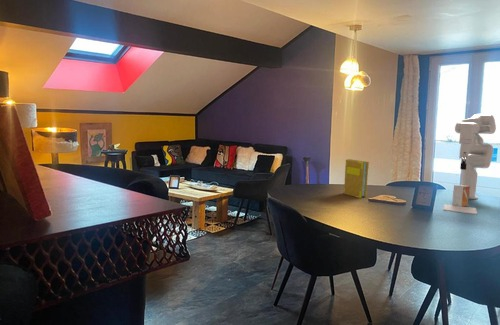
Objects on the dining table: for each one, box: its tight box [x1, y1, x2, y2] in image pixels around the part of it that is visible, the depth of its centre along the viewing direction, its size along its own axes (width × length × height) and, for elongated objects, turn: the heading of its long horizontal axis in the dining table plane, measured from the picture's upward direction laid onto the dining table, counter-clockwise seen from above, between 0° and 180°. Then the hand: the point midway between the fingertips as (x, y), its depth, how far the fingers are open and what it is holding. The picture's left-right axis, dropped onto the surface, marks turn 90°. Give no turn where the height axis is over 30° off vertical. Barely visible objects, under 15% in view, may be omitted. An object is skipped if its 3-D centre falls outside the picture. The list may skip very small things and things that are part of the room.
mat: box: [443, 203, 478, 215], centre depth 240 cm, size 16×18×1 cm
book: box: [343, 158, 370, 199], centre depth 274 cm, size 17×7×25 cm, turn 34°
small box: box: [451, 184, 470, 207], centre depth 250 cm, size 8×6×13 cm
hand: (463, 168), depth 256 cm, fingers open, 4 cm apart
